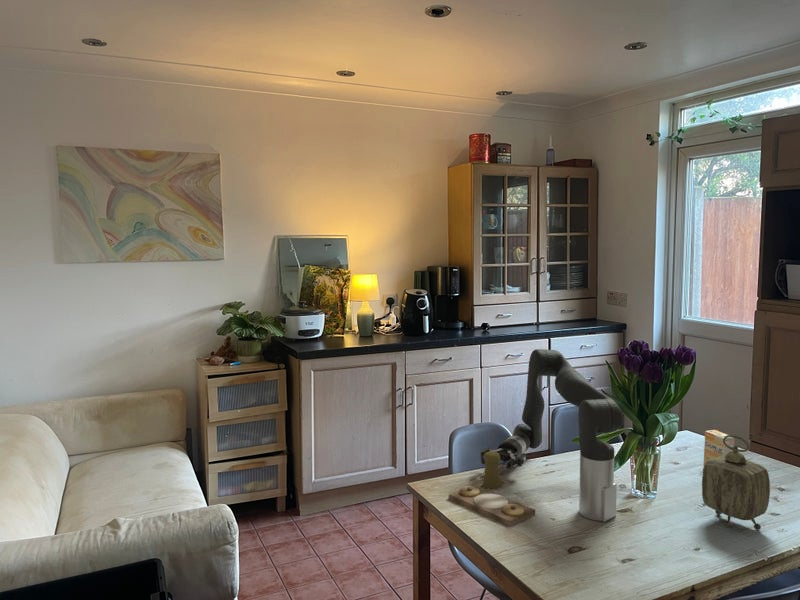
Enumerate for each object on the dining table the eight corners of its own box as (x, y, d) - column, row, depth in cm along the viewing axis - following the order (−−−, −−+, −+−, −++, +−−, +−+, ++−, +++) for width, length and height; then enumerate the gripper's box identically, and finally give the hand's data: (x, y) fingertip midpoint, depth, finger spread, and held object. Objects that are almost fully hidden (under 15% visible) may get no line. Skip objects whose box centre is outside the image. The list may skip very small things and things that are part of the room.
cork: (499, 481, 194) (499, 449, 193) (503, 489, 188) (503, 455, 187) (481, 482, 194) (481, 449, 193) (484, 489, 188) (484, 455, 187)
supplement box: (702, 467, 205) (703, 430, 204) (713, 466, 206) (715, 429, 205) (722, 476, 197) (723, 437, 196) (733, 474, 198) (735, 436, 197)
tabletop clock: (768, 531, 159) (772, 440, 157) (749, 540, 154) (754, 446, 152) (715, 511, 171) (718, 426, 169) (696, 518, 167) (700, 431, 164)
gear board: (535, 514, 170) (535, 504, 170) (510, 526, 163) (510, 516, 163) (473, 489, 188) (473, 480, 188) (448, 498, 181) (448, 489, 181)
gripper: (492, 435, 210) (474, 448, 196) (532, 441, 202) (516, 456, 189) (492, 456, 210) (474, 470, 196) (532, 463, 203) (516, 478, 189)
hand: (495, 463), depth 192 cm, fingers open, 8 cm apart
